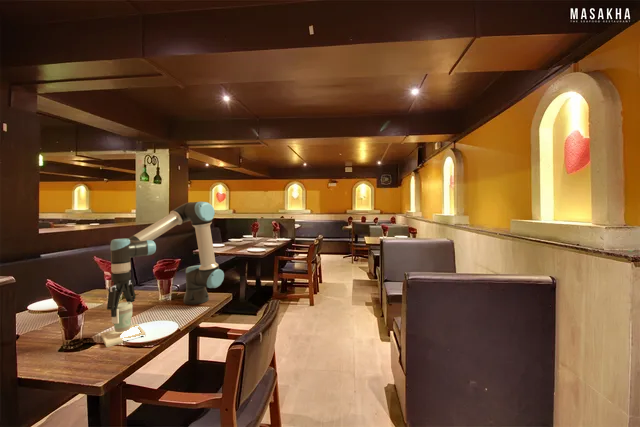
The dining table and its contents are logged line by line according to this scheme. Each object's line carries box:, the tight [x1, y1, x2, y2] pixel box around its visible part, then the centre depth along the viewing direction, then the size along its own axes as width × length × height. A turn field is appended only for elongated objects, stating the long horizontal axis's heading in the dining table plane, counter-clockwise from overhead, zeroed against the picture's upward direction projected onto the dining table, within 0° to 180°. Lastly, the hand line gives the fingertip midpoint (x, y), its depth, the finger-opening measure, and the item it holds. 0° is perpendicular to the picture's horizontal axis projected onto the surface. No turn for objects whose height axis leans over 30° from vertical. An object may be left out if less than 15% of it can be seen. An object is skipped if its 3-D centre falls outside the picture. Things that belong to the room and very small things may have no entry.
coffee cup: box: [113, 301, 134, 332], centre depth 135 cm, size 8×8×12 cm
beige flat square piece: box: [100, 323, 146, 348], centre depth 135 cm, size 15×15×2 cm
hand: (122, 319), depth 135 cm, fingers closed on coffee cup, 8 cm apart
